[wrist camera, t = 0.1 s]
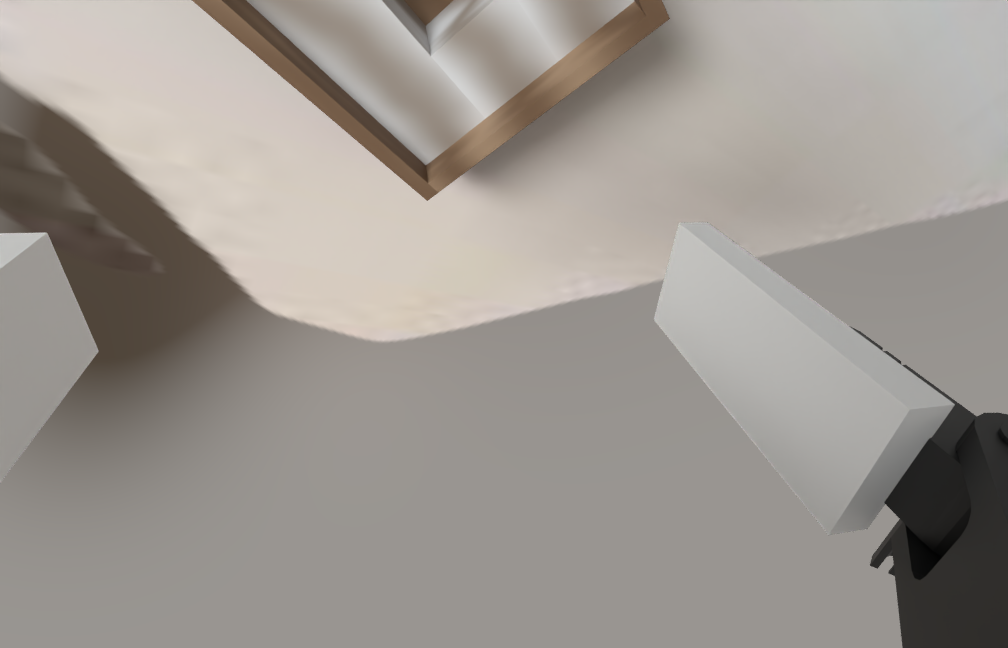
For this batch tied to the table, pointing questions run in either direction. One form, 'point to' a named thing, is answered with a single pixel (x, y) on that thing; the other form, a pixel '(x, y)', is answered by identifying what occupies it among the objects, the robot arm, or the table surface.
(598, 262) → the table surface
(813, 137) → the table surface
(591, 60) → the bore box
